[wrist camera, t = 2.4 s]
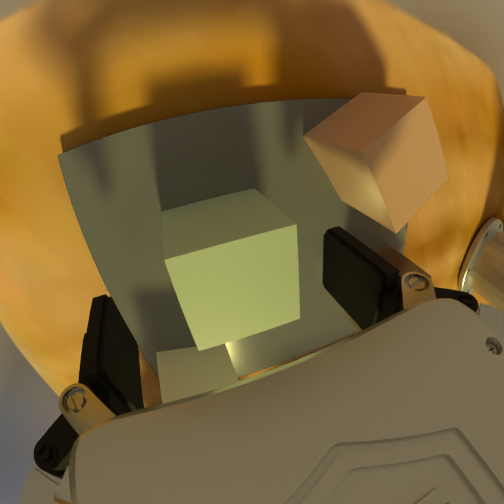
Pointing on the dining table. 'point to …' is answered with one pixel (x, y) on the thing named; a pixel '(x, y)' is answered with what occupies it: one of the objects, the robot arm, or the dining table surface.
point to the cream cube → (193, 371)
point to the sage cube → (232, 266)
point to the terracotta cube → (381, 155)
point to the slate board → (206, 187)
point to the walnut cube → (398, 262)
